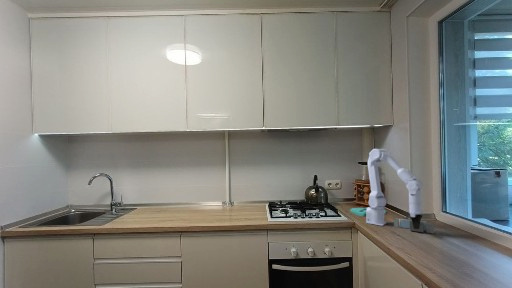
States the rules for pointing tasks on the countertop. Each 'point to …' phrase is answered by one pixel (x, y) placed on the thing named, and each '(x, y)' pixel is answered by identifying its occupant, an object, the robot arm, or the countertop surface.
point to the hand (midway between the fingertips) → (416, 228)
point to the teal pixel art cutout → (360, 211)
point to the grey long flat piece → (429, 226)
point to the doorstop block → (421, 227)
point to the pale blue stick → (408, 224)
